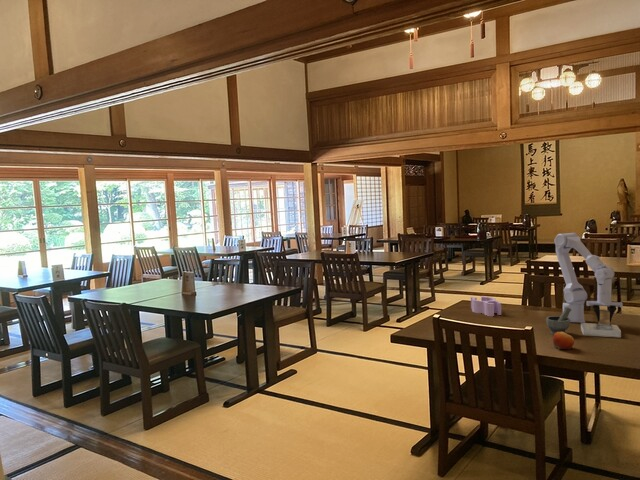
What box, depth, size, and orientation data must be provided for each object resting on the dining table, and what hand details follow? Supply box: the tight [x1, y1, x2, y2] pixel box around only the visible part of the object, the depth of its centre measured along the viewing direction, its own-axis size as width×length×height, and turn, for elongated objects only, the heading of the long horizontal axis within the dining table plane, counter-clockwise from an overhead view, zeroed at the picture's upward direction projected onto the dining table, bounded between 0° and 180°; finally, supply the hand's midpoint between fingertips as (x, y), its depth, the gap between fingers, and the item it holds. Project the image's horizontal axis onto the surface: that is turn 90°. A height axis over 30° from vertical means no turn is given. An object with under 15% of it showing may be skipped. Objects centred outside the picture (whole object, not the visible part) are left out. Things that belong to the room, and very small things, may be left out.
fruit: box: [552, 332, 575, 351], centre depth 204 cm, size 8×8×8 cm
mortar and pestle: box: [545, 307, 571, 335], centre depth 225 cm, size 11×9×12 cm
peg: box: [598, 309, 611, 324], centre depth 231 cm, size 4×4×8 cm
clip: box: [470, 295, 502, 317], centre depth 270 cm, size 20×12×7 cm, turn 12°
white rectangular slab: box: [580, 322, 622, 339], centre depth 223 cm, size 14×10×3 cm
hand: (604, 321), depth 231 cm, fingers closed on peg, 4 cm apart
